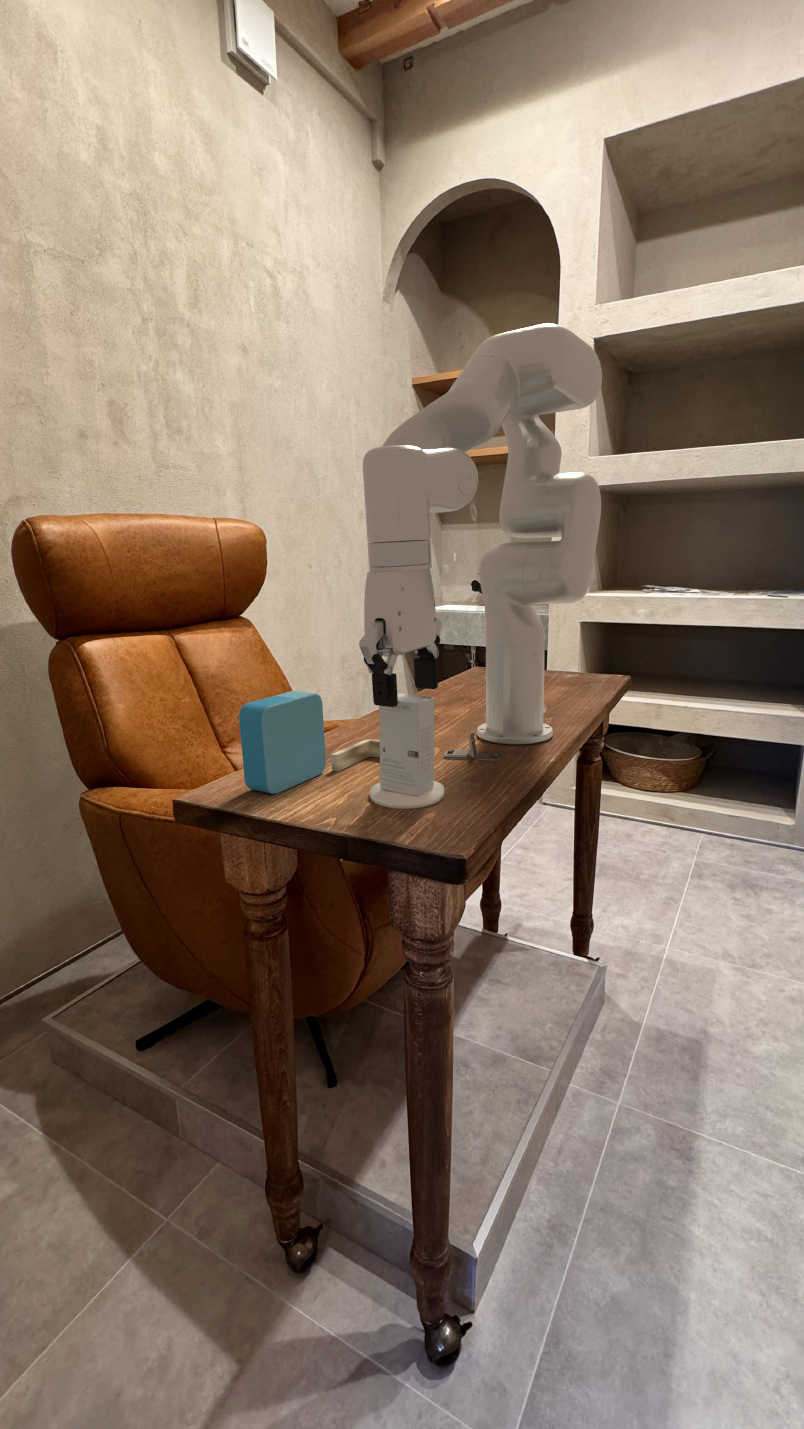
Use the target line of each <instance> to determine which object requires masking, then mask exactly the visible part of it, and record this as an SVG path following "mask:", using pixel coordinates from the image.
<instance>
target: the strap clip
mask: <svg viewBox="0 0 804 1429" xmlns="http://www.w3.org/2000/svg"><path fill="white" fill-rule="evenodd" d="M475 733H476V731H475V730H471V731H470V734H469V737H468V739H469V740H468V742H469V749H457V748H456V749H455V748H454V749H449V750H446V751H445V752H444V755H443V758H444V759H446V760H447V759H448V760H468V759H470V757H471V758H472V759H473V760H478V761H479V760H480V761H500V760H501V753H494V752H492V753H490V752H489V753H488V752H478V753H477V746H476V738H475ZM469 750H470V751H469ZM493 756H497V758H494V757H493Z"/></svg>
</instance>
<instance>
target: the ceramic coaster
mask: <svg viewBox="0 0 804 1429" xmlns="http://www.w3.org/2000/svg"><path fill="white" fill-rule="evenodd" d="M444 797H445V787H444V785H443V784H442V783H440V782H438V781H436V780H434V786H433V787H432V788H431V789H430V790H428V791H426V792H425V793H423V794H421V795H419V796H413V795H408V794H403V793H398V792H393V791H389V790H385V789H381V787H380V782H377V783H376V784H374V785H373V786H371V787H370V788H369V799H370V800H371V801H372V803H374V804H376V805H378V806H380V807H383V808H390V809H394V810H395V809H396V810H412V809H420V808H424V807H430V806H432V805H435V804H437V803H439V802H441V801H442V800H443V799H444Z"/></svg>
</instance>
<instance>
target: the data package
mask: <svg viewBox="0 0 804 1429" xmlns="http://www.w3.org/2000/svg"><path fill="white" fill-rule="evenodd" d="M323 708H324V707H323V700H322V696H320V694H318V693H316V692H307V691H300V690H299V691H296V690H291V691H287V692H284V693H280V694H276V695H272V696H269V697H265V698H262V699H258V700H254V701H251V702H247V703H245V704H243V705H242V706H241V707H240V710H239V713H238V721H239V732H240V743H241V756H242V764H243V776H244V783H245V785H246V788H248V789H249V790H254V791H258V792H263V793H267V794H272V795H277V794H279V793H281V792H282V793H283V792H284V791H286V790H289V789H291V788H292V787H296V786H298V785H300V784H302V783H304V782H307V781H309V780H311V779H314V778H315V777H317V776H319V775H321V774H322V773H323V772H325V771H324V770H325V769H326V764H327V756H326V742H325V741H326V740H325V738H326V737H325V725H324V709H323Z"/></svg>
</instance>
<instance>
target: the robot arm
mask: <svg viewBox="0 0 804 1429" xmlns="http://www.w3.org/2000/svg"><path fill="white" fill-rule="evenodd" d="M602 382H603V370H602V366H601V361H600V359H599V356H598V355H597V353H596V352H595V350H594V349H593V347H592V346H591V345H590V344H588V343H587V342H586V341H584V340H583V339H582V338H580V336H578V335H577V334H576V333H574V332H573V331H571V330H569V329H568V328H566V327H564V326H562V325H560V324H559V325H558V324H555V323H549V322H547V323H542V324H536V325H533V326H527V327H524V328H519V329H518V328H517V329H515V330H510V331H506V332H502V333H501V332H500V333H498V334H494V335H492V336H490V337H488V338H486V339H485V340H483V341H482V342H481V343H480V344H479V345H478V346H477V348H476V349H475V350H474V351H473V353H472V355H471V356H470V357H469V358H468V360H467V363H466V364H465V366H464V367H463V369H462V371H461V372H460V373H459V375H458V376H457V377H456V379H455V381H454V382H453V383H452V385H451V386H450V389H448V391H447V392H446V393H445V394H443V395H441V396H439V397H438V398H436V399H435V400H433V401H432V402H431V403H429V404H428V405H427V406H425V407H423V408H422V409H421V410H420V411H418V412H417V413H415V414H414V415H412V416H411V417H409V418H408V419H407V420H405V421H404V422H402V423H401V424H400V425H399V426H398V427H397V428H395V429H394V430H393V431H392V432H391V433H390V434H389V436H387V438H386V440H385V441H384V443H382V445H381V446H378V447H374V448H371V449H370V450H368V451H366V453H365V454H364V456H363V459H362V477H363V478H362V479H363V491H364V510H365V523H366V539H367V556H368V570H369V571H367V572H366V578H365V586H364V587H365V588H364V600H363V602H364V605H363V606H364V607H363V610H364V611H363V615H364V616H363V619H364V620H363V622H364V625H363V626H364V631H363V632H364V635H363V636H362V637H361V638H360V640H359V641H358V642H359V643H358V646H359V648H360V651H361V654H362V656H363V662H364V664H365V665H366V666H367V671H368V674H371V682H372V683H371V684H372V686H371V687H372V698H373V699H372V700H373V704H374V706H387V707H395V706H397V705H398V695H397V693H398V682H397V680H398V679H397V673H396V672H395V673H393V672H394V669H395V665H396V663H397V660H398V658H399V656H403V655H406V654H410V653H415V655H416V656H417V657H413V668H414V670H413V671H414V686H415V688H417V689H427V690H436V689H438V687H439V679H438V678H439V677H438V660H437V658H438V657H439V653H440V652H439V649H438V648H439V646H440V642H441V637H440V636H441V631H442V627H443V623H442V620H440V619H439V618H438V617H437V612H436V610H437V608H436V601H435V600H436V599H435V591H434V583H433V576H432V572H431V569H432V542H431V523H430V520H431V517H430V514H440V513H448V512H455V511H458V510H461V509H463V508H465V507H466V506H467V505H469V504H470V503H471V502H472V501H473V499H474V498H475V496H476V493H477V491H478V487H479V473H478V469H477V466H476V463H475V461H473V459H472V457H471V456H470V455H469V454H468V453H467V452H469V451H472V450H473V449H475V448H478V447H479V446H482V445H483V444H485V443H487V442H489V441H490V440H491V439H492V438H493V437H495V435H496V434H497V433H498V432H499V430H500V429H501V427H502V430H503V433H504V437H505V439H506V443H507V452H508V454H507V462H506V470H505V473H504V474H505V475H504V480H503V487H502V494H501V499H500V505H499V526H500V528H501V530H502V531H503V532H504V534H505V535H507V536H509V537H512V538H518V539H543V538H545V539H546V538H560V540H545V541H544V540H543V541H542V540H541V541H536V540H535V541H516V542H515V541H512V542H504V543H500V544H497V545H495V546H493V547H491V548H489V549H488V550H487V551H486V552H485V553H484V554H483V555H482V558H481V560H480V563H479V567H478V568H479V569H478V571H479V572H478V575H479V576H478V577H479V583H480V584H479V585H480V589H481V594H482V599H483V605H484V617H485V706H486V707H485V718H486V720H485V722H484V723H481V724H480V725H479V726H477V728H476V735H477V736H478V737H479V738H480V739H482V740H484V741H486V742H490V743H496V744H503V745H504V744H505V745H527V744H528V745H529V744H536V743H540V742H541V743H542V742H546V741H547V740H550V739H551V738H552V737H553V734H554V733H553V732H554V730H553V727H552V726H550V725H549V724H546V723H544V713H546V711H547V705H546V704H545V702H544V699H545V696H544V693H545V642H546V636H545V635H546V632H545V626H544V625H543V622H542V619H541V618H540V616H539V615H538V614H537V612H536V610H535V609H534V606H532V605H536V604H543V605H546V604H550V605H551V604H552V605H554V604H560V605H561V604H564V605H565V604H567V605H568V604H574V603H577V602H580V601H581V600H583V599H584V597H585V596H586V594H587V592H588V590H589V587H590V584H591V579H592V574H593V570H594V563H595V562H594V561H595V557H596V556H595V555H596V549H597V542H598V536H599V530H600V524H601V523H600V522H601V514H602V495H601V491H600V486H599V483H598V482H597V480H596V479H595V478H594V477H593V476H592V475H590V474H588V473H586V472H576V471H575V472H563V473H560V468H561V462H562V454H563V453H562V447H561V445H560V443H559V441H558V439H557V438H556V436H555V435H554V433H553V432H552V430H550V429H549V428H548V426H546V424H545V423H544V422H543V421H542V420H541V418H540V417H539V416H541V415H549V414H555V413H562V412H568V411H575V410H582V409H584V408H586V407H589V406H590V405H592V404H593V403H594V402H595V401H596V400H597V398H598V396H599V395H600V392H601V387H602ZM383 657H386V661H385V660H384V658H383Z"/></svg>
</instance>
